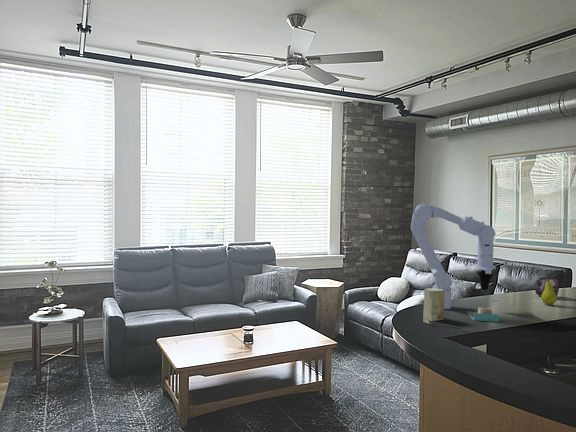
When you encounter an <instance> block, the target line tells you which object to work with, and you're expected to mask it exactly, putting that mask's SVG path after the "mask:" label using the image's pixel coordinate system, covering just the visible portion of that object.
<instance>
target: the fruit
mask: <svg viewBox="0 0 576 432" xmlns="http://www.w3.org/2000/svg"><path fill="white" fill-rule="evenodd" d="M545 277H546V276H544V278H545ZM545 279H546V278H545ZM540 297H541V301H542V302H543V304H544V305H546V306H552V305H554V304H555V303H556V302H557V299H558V298H557V297H558V295H557V296H556V294H555V292H554V290H553V287H552V285H551V283H550V282H549V281H547V280H546V285H545V289H544V292H543V293H542V296H540Z"/></svg>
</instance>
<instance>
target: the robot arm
mask: <svg viewBox="0 0 576 432" xmlns="http://www.w3.org/2000/svg"><path fill="white" fill-rule="evenodd" d="M430 218H433V219H434V218H440V219H443V220H445V221H448V222H450V223H452V224H455V225H458V228H459V230H461V231H463V232H466V233H468V234H470V235H472V236H477V237H478V240H477V257H476V258H477V259H476V260H477V261H476V263H477V265H476V269H479V270H477V271H476V272H475V273H476V274H477V276H478V279H479V286H480V289H481V291H488V289H489V286H490V282H491V279H492V277H493V276H494V272H493V270H496V269H497V267H496V266H494V238H495V236H496V230H495V229H494V227H493V226H491V225H487V224H485V222H484V221H481V222H480V221H479V220H476V219H474V218H473V216H471V215H469V216H463V217H460V216H458V215H456V214H454V213H451V212H449V211H448V210H446V209H443V208H441V207H437V206H433V205H429V204H427V203H420V204H418V205H417V206H416V207H415V209H414V210H413V212H412V217H411V222H410V223H411V224H410V230H411V233H412V235H413V237H414V238H415V240H416V242H417V244H418V247H419V249H420V251H421V253H422V255H423V256H424V258H425V261H426V263H427V265H428V267H429V269H430V271H431V274H432V280H433V283H434V284H433V285H432V288H431V287H430V288H429V287H428V288H427V289H433V288H438V289H442V290H445V299H444V310H450V309H452V287H451V286H452V284H453V280H452V277H451V276H450V275H449V274H448V273H447V272H446V271H445V269H444V267H443V265H442V264H441V261H440V260H439V257H438V256H437V254H436V252H435V250H434V248H433V245H432V243H431V241H430V239H429V238H428V236H427V233H426V231H425V230H424V229H425V227H426V224H427V222H428V220H429V219H430Z"/></svg>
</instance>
